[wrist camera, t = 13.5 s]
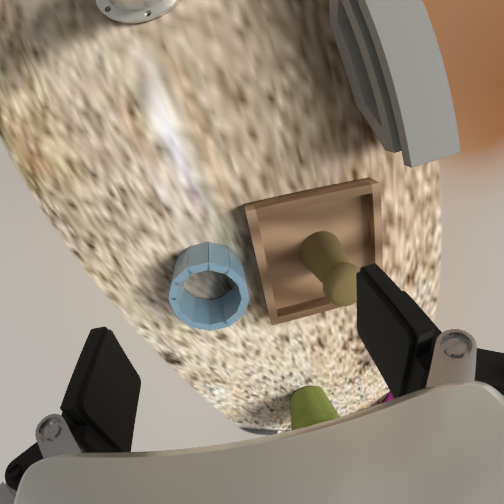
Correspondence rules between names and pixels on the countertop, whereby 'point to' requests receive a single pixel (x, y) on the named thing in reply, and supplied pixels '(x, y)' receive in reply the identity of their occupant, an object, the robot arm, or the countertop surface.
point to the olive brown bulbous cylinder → (330, 267)
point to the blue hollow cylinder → (204, 310)
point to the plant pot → (310, 408)
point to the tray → (299, 228)
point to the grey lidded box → (397, 76)
